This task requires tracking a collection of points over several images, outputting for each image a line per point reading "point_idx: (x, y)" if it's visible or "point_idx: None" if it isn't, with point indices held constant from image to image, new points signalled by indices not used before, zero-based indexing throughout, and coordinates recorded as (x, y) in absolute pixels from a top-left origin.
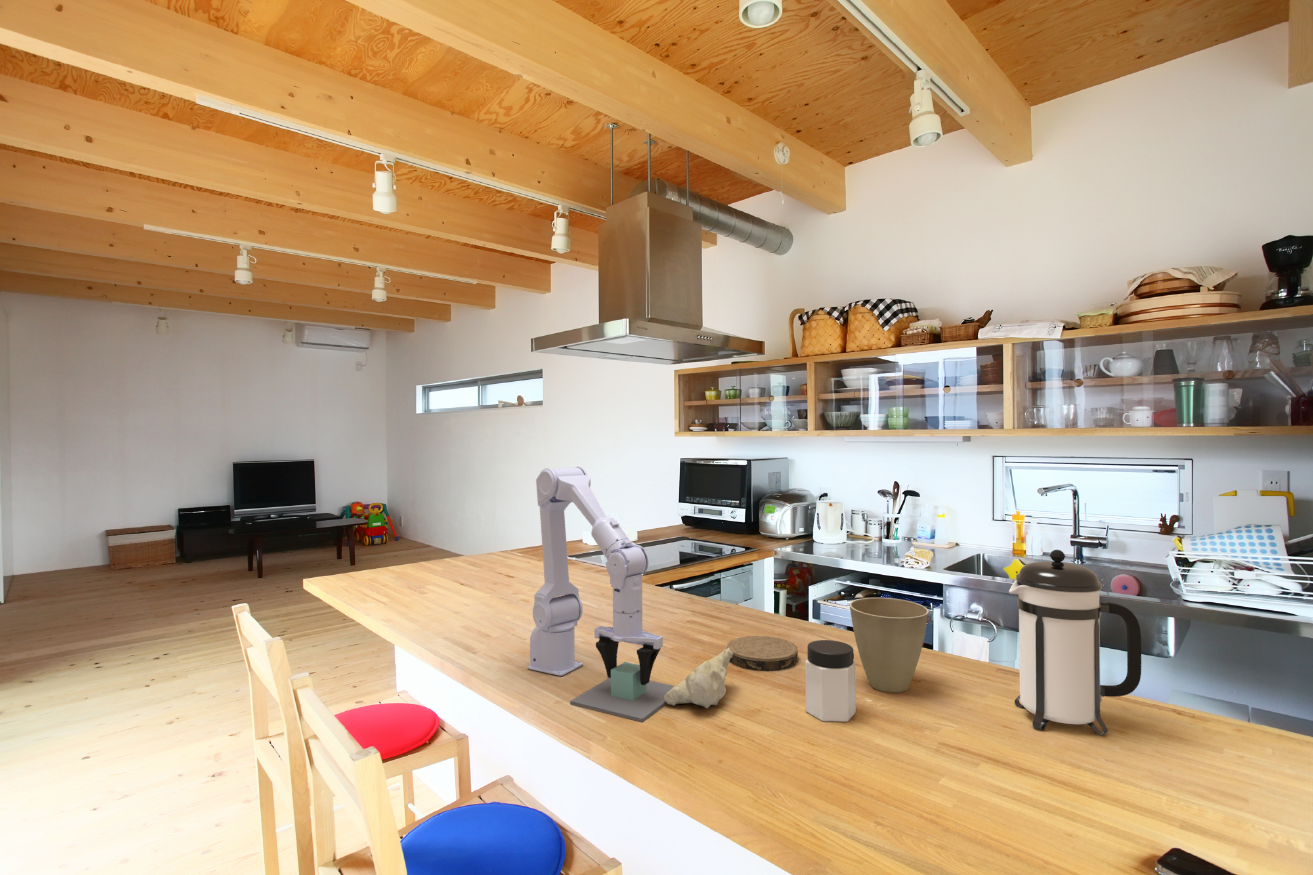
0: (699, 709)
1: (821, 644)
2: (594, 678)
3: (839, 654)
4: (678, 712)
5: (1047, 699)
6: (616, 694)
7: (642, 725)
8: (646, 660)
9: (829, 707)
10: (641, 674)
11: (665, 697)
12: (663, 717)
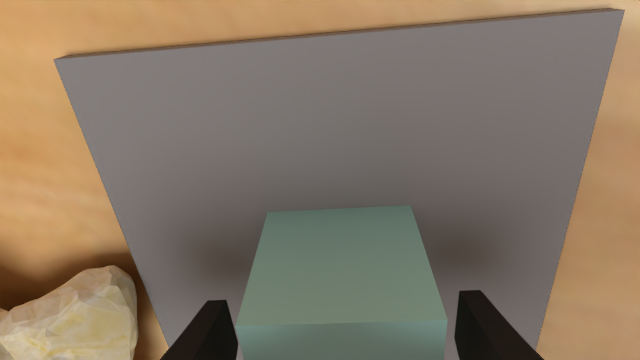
0: (14, 294)
1: None
2: (615, 326)
3: None
4: (45, 236)
5: None
6: (374, 214)
7: (33, 21)
8: None
9: None
10: (187, 350)
11: (104, 281)
12: (45, 162)
